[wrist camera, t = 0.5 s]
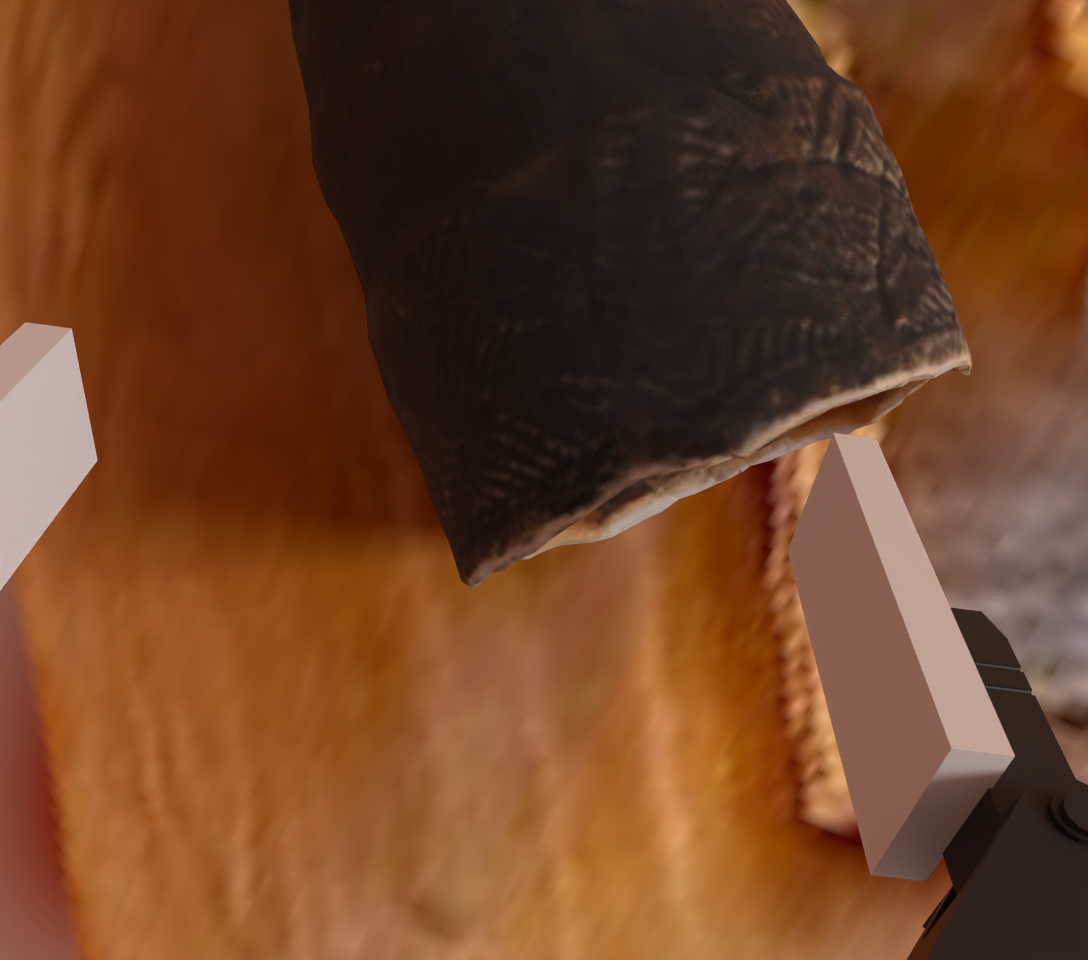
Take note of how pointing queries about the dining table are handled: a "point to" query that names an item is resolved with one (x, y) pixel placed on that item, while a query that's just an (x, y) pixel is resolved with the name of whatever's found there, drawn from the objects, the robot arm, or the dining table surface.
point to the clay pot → (613, 250)
